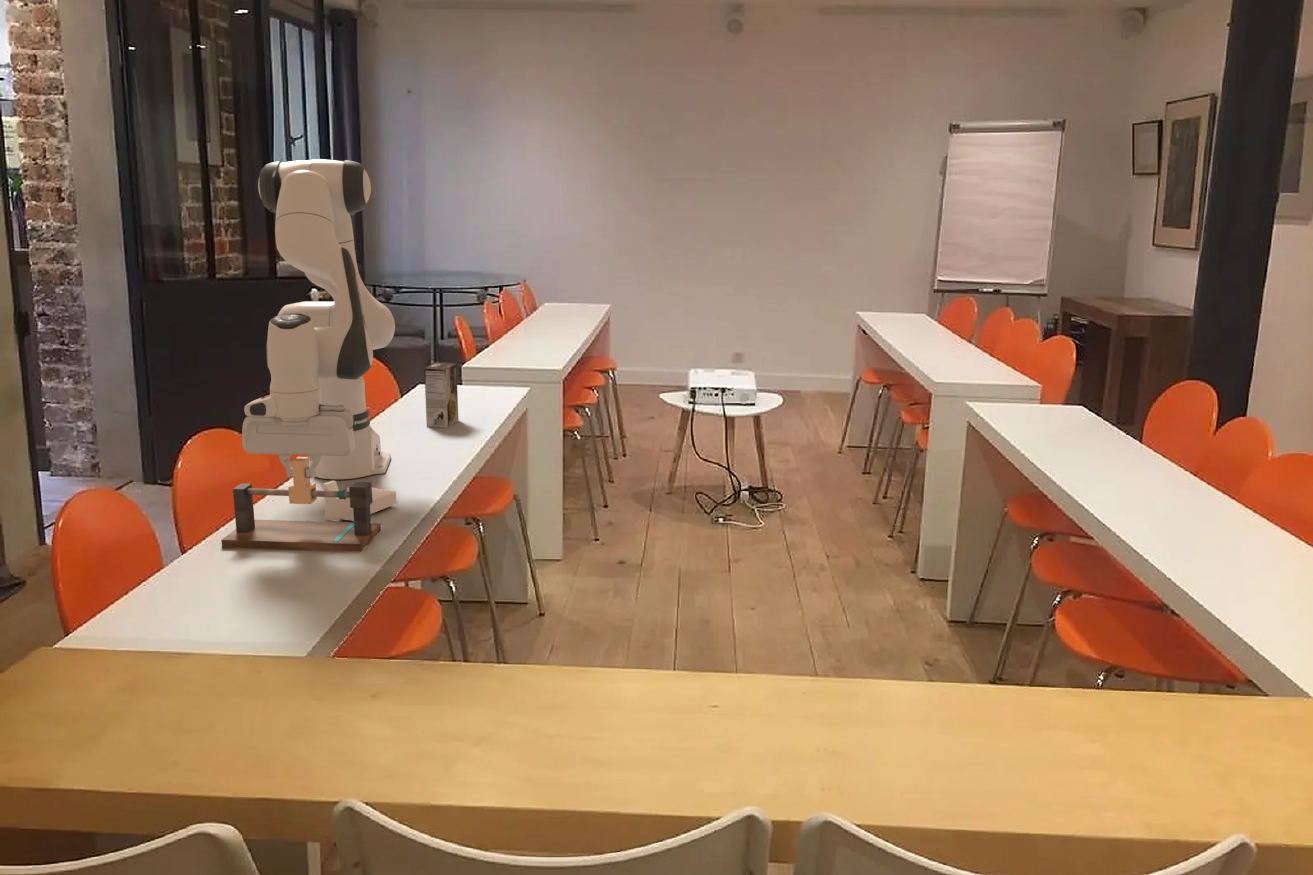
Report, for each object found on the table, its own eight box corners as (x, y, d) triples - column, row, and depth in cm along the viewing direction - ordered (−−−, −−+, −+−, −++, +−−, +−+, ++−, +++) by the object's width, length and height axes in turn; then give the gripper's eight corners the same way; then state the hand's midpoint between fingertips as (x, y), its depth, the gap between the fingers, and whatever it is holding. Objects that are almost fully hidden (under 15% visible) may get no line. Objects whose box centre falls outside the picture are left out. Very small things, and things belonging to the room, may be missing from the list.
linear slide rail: (249, 526, 214) (245, 472, 211) (381, 530, 212) (378, 475, 210) (221, 547, 202) (216, 490, 200) (361, 551, 201) (357, 494, 198)
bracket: (353, 525, 216) (351, 488, 215) (325, 520, 219) (323, 483, 218) (396, 508, 228) (395, 472, 226) (370, 503, 231) (368, 468, 229)
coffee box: (436, 419, 305) (434, 361, 301) (459, 420, 304) (457, 362, 300) (425, 427, 296) (423, 367, 293) (448, 428, 296) (446, 368, 292)
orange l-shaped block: (296, 498, 207) (293, 456, 205) (316, 499, 207) (314, 456, 205) (289, 503, 204) (286, 460, 202) (310, 504, 204) (307, 461, 202)
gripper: (358, 401, 204) (362, 474, 207) (250, 399, 205) (256, 470, 208) (346, 409, 197) (350, 483, 201) (235, 406, 199) (241, 480, 202)
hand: (301, 477), depth 205 cm, fingers closed on orange l-shaped block, 2 cm apart
